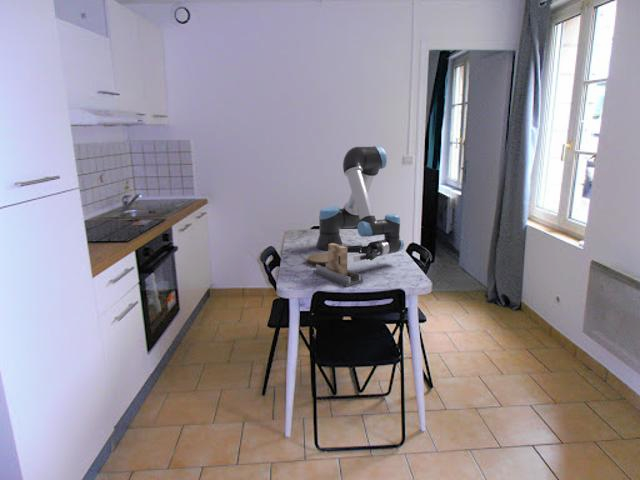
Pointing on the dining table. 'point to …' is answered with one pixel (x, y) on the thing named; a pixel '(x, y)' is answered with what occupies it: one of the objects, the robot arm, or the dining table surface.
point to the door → (337, 258)
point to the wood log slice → (318, 259)
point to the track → (338, 276)
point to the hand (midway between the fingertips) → (344, 255)
